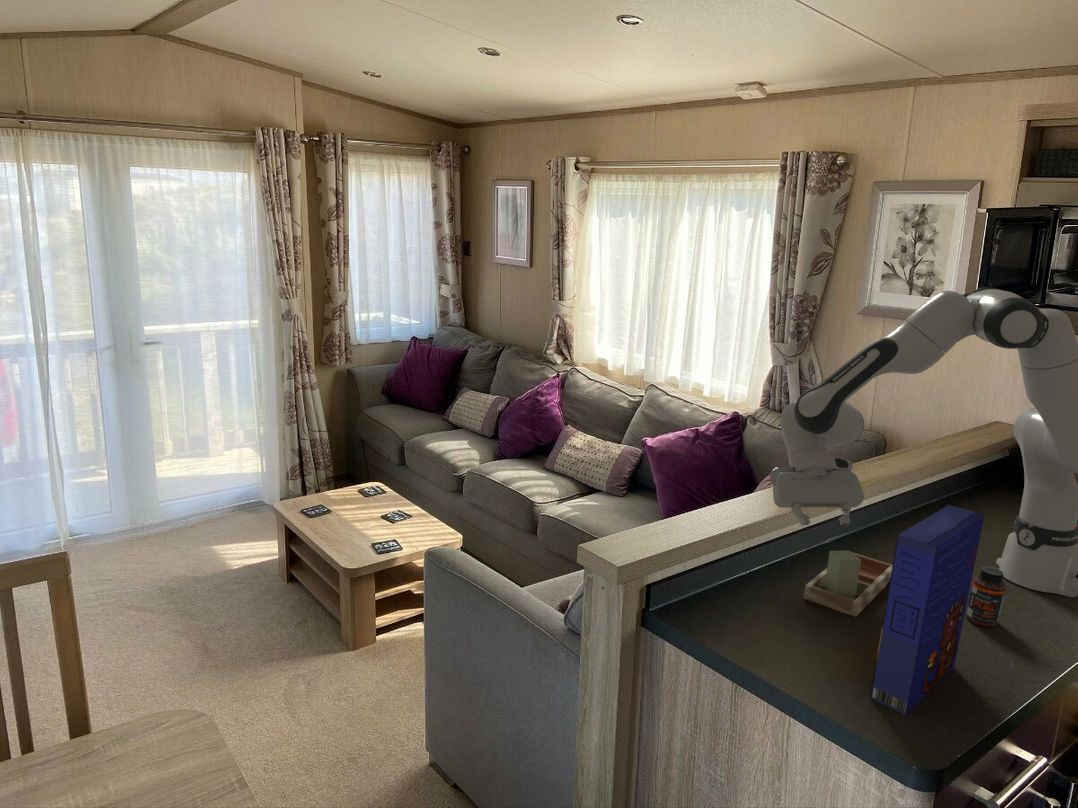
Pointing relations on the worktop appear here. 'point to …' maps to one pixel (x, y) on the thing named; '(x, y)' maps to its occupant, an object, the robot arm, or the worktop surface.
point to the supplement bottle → (986, 597)
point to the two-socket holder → (868, 587)
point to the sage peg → (842, 573)
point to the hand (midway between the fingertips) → (825, 524)
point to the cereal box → (925, 606)
